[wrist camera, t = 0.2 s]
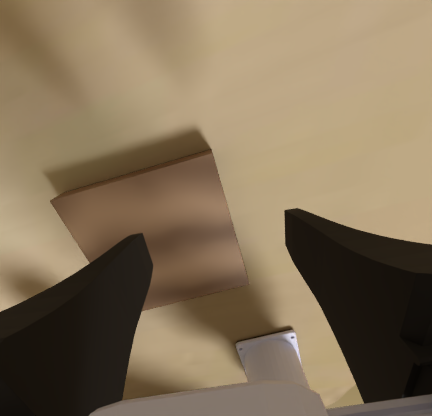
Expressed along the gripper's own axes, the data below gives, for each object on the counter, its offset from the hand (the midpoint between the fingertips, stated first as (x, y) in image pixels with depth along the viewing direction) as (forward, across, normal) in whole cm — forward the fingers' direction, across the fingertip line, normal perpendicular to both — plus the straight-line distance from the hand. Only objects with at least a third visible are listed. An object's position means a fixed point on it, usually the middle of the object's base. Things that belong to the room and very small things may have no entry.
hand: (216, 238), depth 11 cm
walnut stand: (+10, +6, +5) cm, 12 cm away
